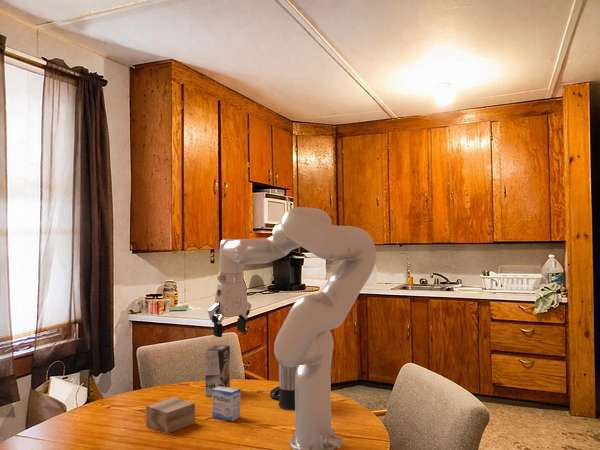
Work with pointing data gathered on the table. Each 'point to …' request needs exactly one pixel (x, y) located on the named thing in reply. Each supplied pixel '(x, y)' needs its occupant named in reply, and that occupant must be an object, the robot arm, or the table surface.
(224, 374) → the coffee box
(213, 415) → the medicine box
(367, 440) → the table surface
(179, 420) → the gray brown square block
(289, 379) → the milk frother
